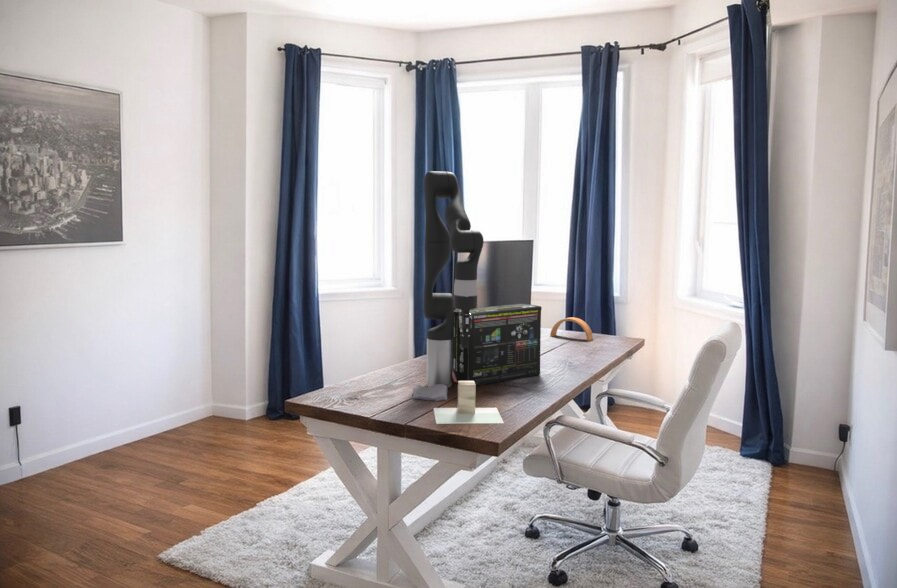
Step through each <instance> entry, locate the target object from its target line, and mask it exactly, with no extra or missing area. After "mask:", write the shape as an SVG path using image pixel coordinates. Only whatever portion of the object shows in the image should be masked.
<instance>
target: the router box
mask: <svg viewBox="0 0 897 588" xmlns="http://www.w3.org/2000/svg"><path fill="white" fill-rule="evenodd" d="M542 308H543V307H542V306H540V305H535V304H529V303H524V302H523V303H513V304H512V303H511V304H503V305H493V306H481V307H477V308H476V309H471V310H470V314H471V315H472V320H471V334H470V336H469V348H462V344H461V343H460V335H461V333H460V328H459V312H460V311H461V309H454V316H453V363H452V382H453V381H454V383H455V382H456V384H457V383H458V381H474V382H475V384H476V385H477V386H482V384H483V385H487V384H488V383H489V384H494V382H495V383H501V382H505V381H511V380H516V379H523V378H529V377H534V376H540V375H541V334H542V333H541V331H542V330H541V329H542V323H541V322H542ZM500 381H501V382H500Z"/></svg>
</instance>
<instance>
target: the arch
mask: <svg viewBox="0 0 897 588" xmlns="http://www.w3.org/2000/svg"><path fill="white" fill-rule="evenodd" d="M567 321H568V322H573V323H577V324H578V325H579V326H580V327H581V328H582V330H583V331H584V333H585V336H586V341H587V342H590V341H592V340H593V339H594V337H593V332H592V329H591V327H590V326H589V325H588V324H587V322H585V321H584V320H583V319H581V318H578V317H574V316H572V317H566V318H563V319H560V320H559V321H557V322H556V323H555V324H554V325H553V326H552V329H551V331H550V335H549V337H550V338H553V337H555V336H557V333H558V329H559V327H560V326H561V325H562V324H563V323H565V322H567Z"/></svg>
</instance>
